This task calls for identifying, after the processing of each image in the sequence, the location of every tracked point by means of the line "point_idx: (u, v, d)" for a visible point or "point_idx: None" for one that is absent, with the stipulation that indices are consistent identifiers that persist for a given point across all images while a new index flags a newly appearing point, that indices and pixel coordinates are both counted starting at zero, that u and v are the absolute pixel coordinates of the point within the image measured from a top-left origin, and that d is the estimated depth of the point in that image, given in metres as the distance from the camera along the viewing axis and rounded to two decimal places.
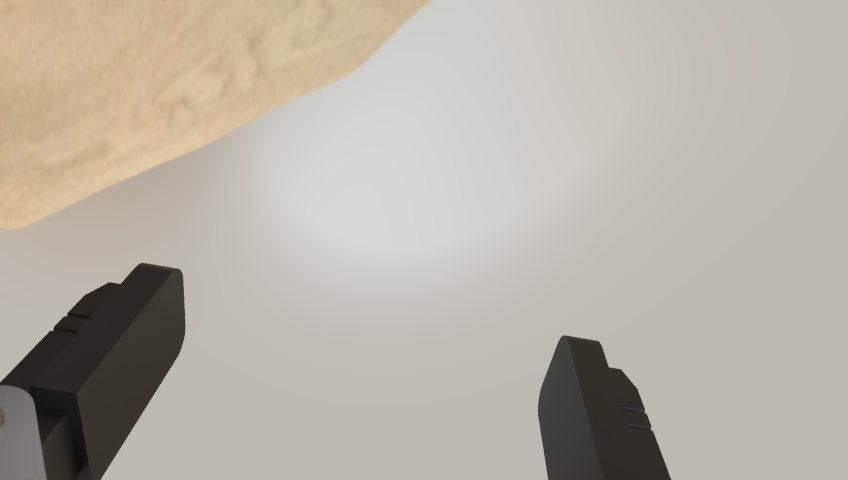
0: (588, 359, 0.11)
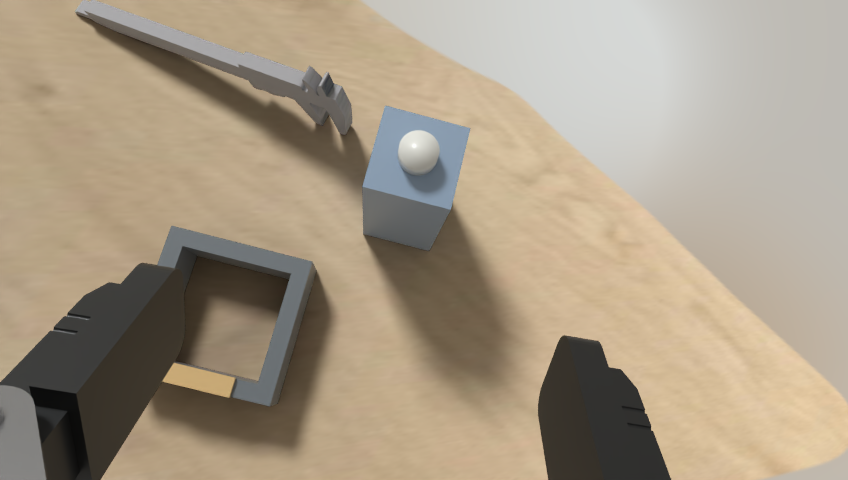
0: (588, 359, 0.11)
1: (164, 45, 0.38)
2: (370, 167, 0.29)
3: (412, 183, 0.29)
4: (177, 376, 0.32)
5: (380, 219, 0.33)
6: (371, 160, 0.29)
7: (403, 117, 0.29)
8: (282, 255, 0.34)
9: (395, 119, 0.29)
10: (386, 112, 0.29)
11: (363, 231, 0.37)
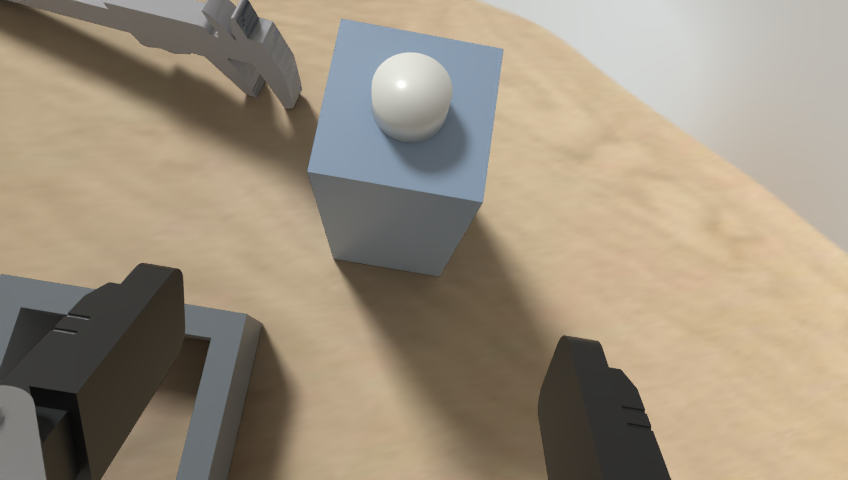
0: (588, 359, 0.11)
1: None
2: (320, 133, 0.15)
3: (404, 157, 0.15)
4: None
5: (354, 232, 0.20)
6: (321, 120, 0.15)
7: (377, 37, 0.16)
8: (194, 308, 0.20)
9: (362, 42, 0.16)
10: (344, 30, 0.16)
11: (332, 254, 0.23)
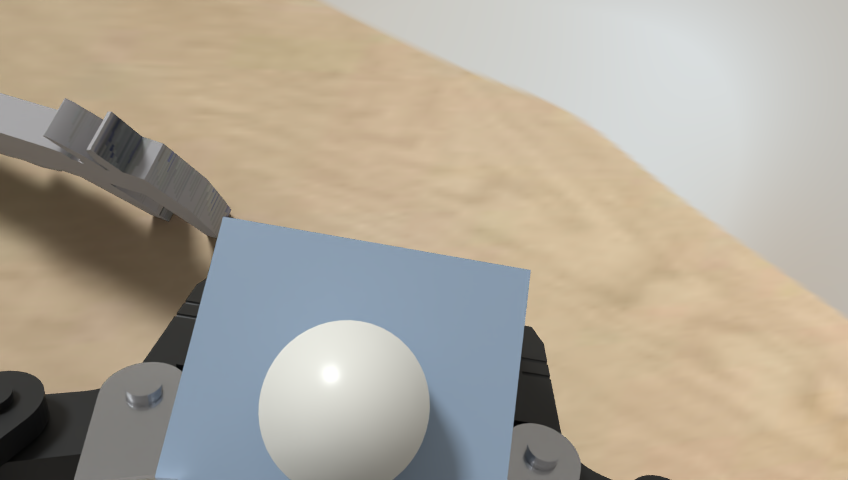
0: None
1: None
2: (167, 470, 0.07)
3: None
4: None
5: None
6: (171, 440, 0.07)
7: (290, 254, 0.08)
8: None
9: (261, 265, 0.08)
10: (227, 242, 0.08)
11: None
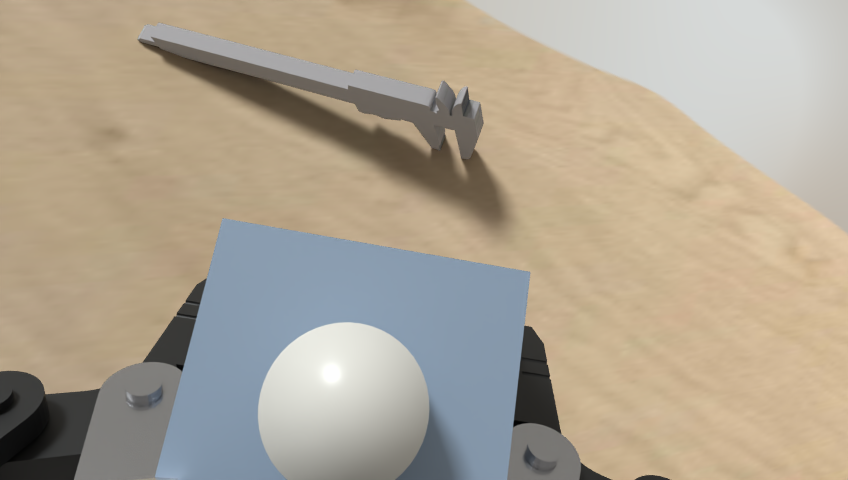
0: None
1: (249, 70, 0.32)
2: (166, 472, 0.07)
3: None
4: None
5: None
6: (170, 442, 0.07)
7: (290, 256, 0.08)
8: None
9: (260, 266, 0.08)
10: (227, 243, 0.08)
11: None
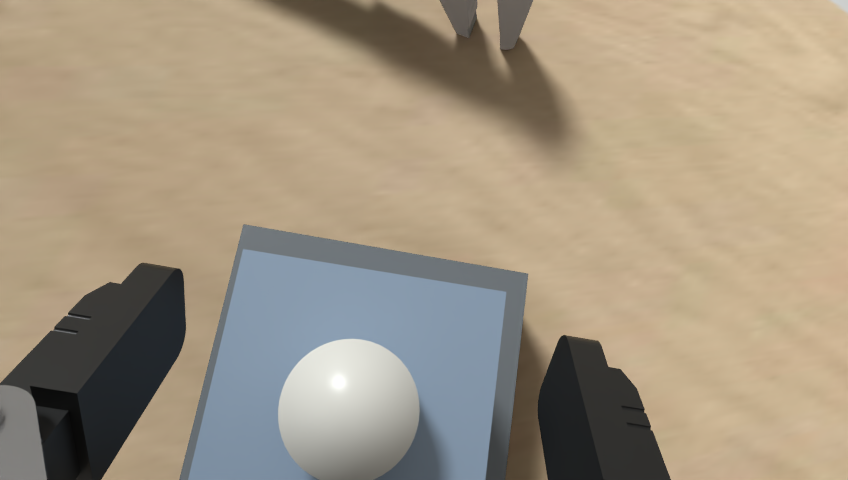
0: (588, 359, 0.11)
1: None
2: (200, 465, 0.09)
3: None
4: None
5: None
6: (203, 440, 0.09)
7: (301, 280, 0.10)
8: (468, 266, 0.17)
9: (276, 290, 0.10)
10: (247, 271, 0.10)
11: None
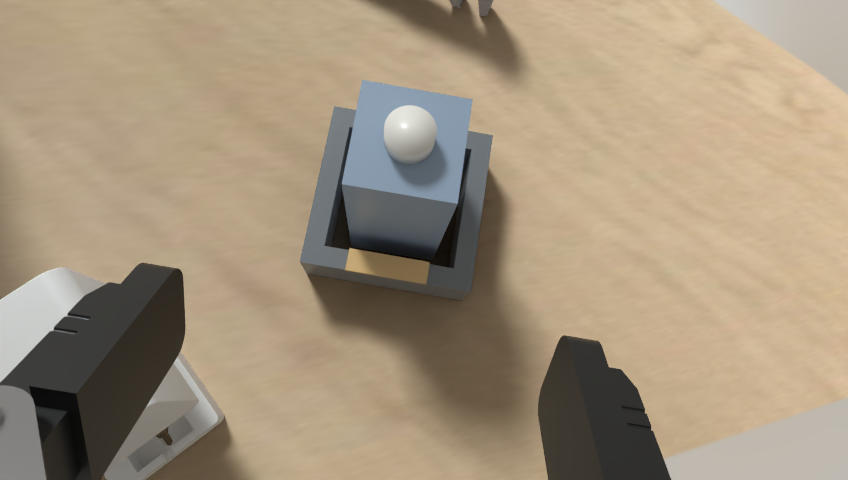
0: (588, 359, 0.11)
1: None
2: (350, 158, 0.22)
3: (405, 174, 0.22)
4: (366, 264, 0.28)
5: (369, 225, 0.27)
6: (350, 149, 0.22)
7: (386, 92, 0.23)
8: None
9: (376, 96, 0.23)
10: (364, 88, 0.23)
11: (351, 243, 0.31)
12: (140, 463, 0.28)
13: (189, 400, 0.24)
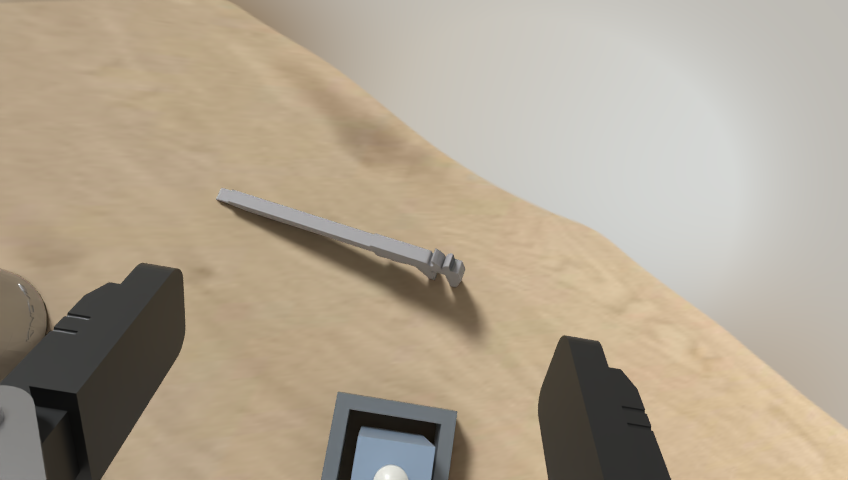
0: (588, 359, 0.11)
1: (298, 226, 0.45)
2: None
3: None
4: None
5: None
6: None
7: (375, 445, 0.33)
8: (432, 408, 0.41)
9: (368, 448, 0.33)
10: (359, 442, 0.33)
11: None
12: None
13: None
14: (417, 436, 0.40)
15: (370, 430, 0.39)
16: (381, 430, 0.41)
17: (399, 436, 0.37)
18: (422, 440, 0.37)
